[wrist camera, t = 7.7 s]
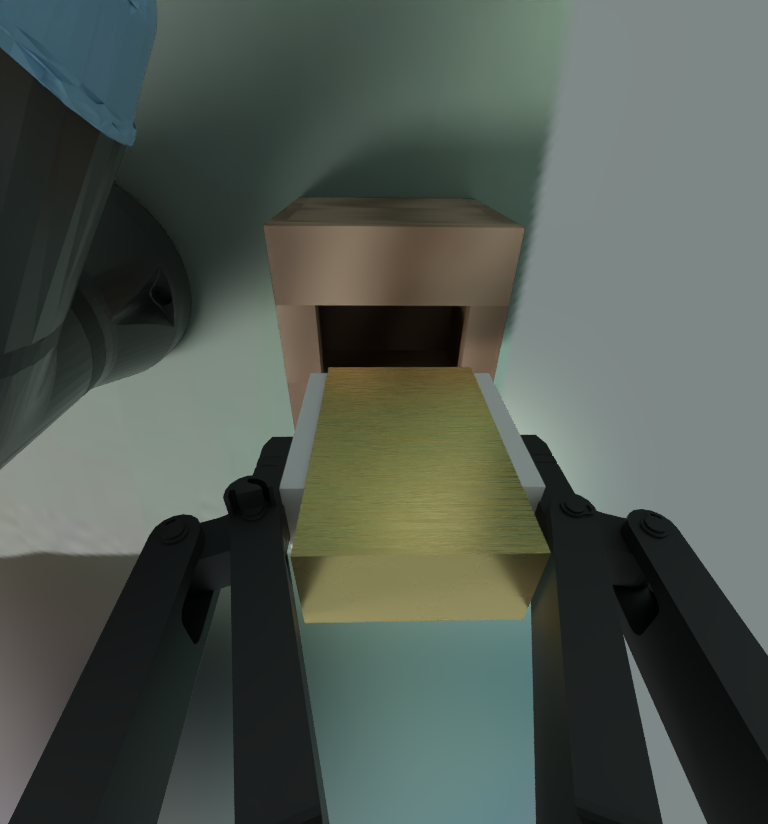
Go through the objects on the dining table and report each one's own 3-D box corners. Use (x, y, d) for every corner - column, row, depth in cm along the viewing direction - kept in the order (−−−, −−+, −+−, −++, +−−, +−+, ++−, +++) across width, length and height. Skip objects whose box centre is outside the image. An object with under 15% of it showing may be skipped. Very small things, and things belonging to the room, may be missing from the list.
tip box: (316, 354, 33) (295, 433, 24) (300, 196, 26) (263, 225, 17) (453, 354, 34) (483, 432, 25) (473, 198, 27) (524, 227, 18)
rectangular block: (333, 424, 18) (304, 622, 10) (328, 367, 16) (290, 556, 9) (461, 423, 18) (522, 618, 11) (470, 367, 16) (551, 552, 9)
